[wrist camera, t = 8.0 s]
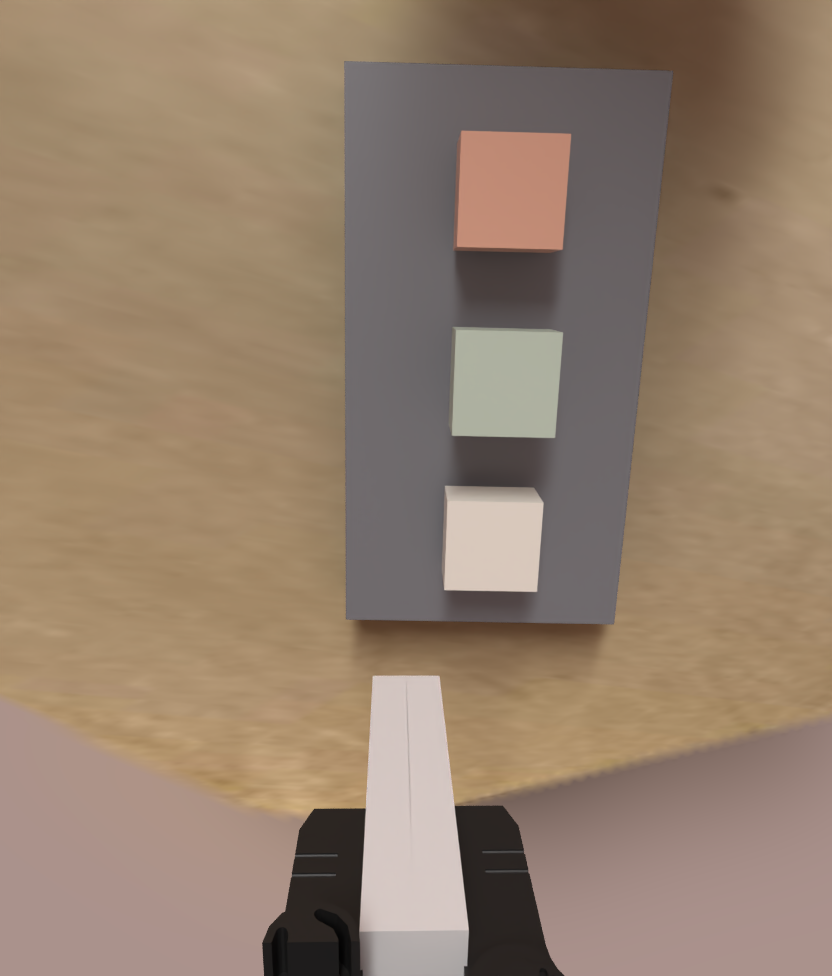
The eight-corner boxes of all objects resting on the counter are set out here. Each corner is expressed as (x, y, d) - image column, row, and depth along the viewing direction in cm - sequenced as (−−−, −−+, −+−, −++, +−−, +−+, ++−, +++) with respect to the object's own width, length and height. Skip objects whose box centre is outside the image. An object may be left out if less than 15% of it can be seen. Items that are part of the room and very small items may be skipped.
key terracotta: (449, 254, 32) (456, 246, 27) (452, 157, 31) (461, 130, 26) (538, 256, 32) (562, 249, 27) (544, 159, 31) (571, 133, 26)
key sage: (445, 413, 33) (451, 436, 27) (448, 323, 32) (456, 329, 26) (532, 415, 33) (555, 437, 28) (538, 325, 32) (563, 332, 26)
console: (350, 593, 37) (346, 619, 34) (350, 82, 31) (344, 61, 28) (598, 598, 37) (614, 624, 34) (648, 91, 31) (673, 70, 28)
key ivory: (439, 547, 36) (444, 590, 31) (441, 469, 35) (447, 501, 29) (518, 548, 36) (536, 591, 31) (523, 471, 35) (543, 502, 30)
